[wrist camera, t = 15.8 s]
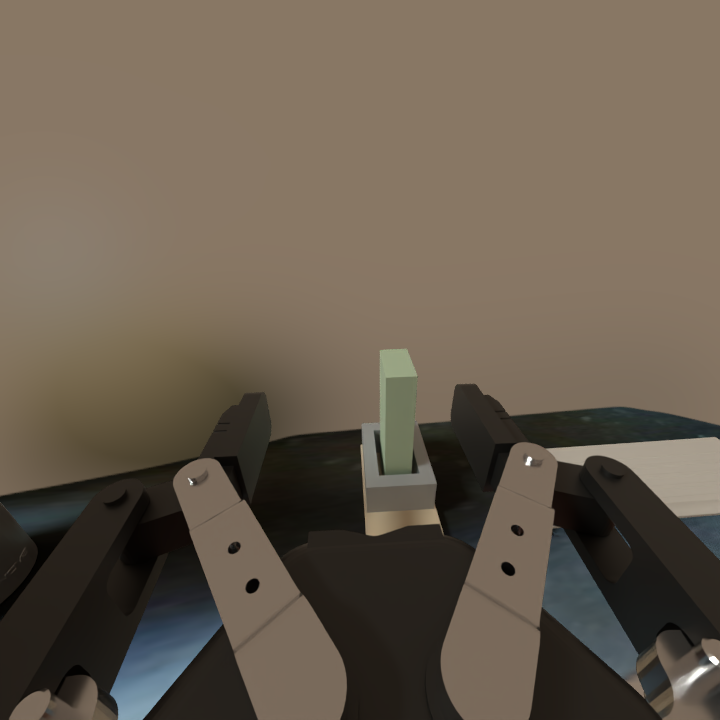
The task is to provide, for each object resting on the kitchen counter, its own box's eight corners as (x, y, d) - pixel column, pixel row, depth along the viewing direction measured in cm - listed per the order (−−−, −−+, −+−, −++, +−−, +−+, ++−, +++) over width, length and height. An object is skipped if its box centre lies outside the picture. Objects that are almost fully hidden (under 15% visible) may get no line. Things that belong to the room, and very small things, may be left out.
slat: (384, 494, 36) (385, 377, 29) (380, 456, 42) (379, 350, 34) (410, 492, 36) (417, 376, 29) (402, 455, 42) (406, 348, 34)
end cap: (367, 512, 34) (366, 487, 32) (362, 445, 44) (361, 423, 42) (433, 508, 34) (436, 483, 33) (415, 443, 44) (416, 420, 42)
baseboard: (828, 523, 33) (709, 445, 44) (847, 505, 32) (720, 429, 43) (551, 546, 32) (497, 460, 43) (558, 528, 31) (501, 444, 41)
